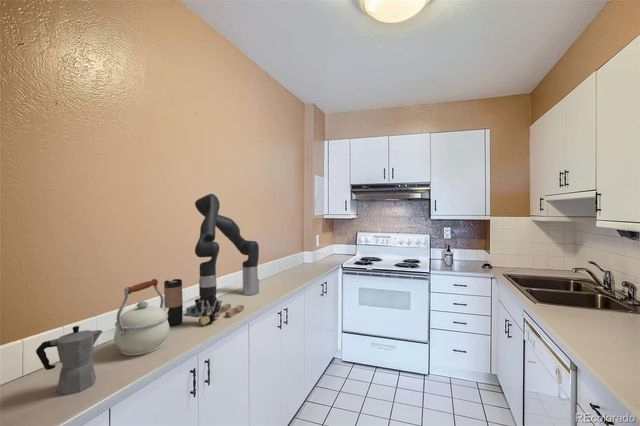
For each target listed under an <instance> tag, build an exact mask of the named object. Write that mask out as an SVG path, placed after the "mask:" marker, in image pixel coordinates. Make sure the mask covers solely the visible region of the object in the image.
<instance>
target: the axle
mask: <svg viewBox="0 0 640 426" xmlns="http://www.w3.org/2000/svg"><path fill="white" fill-rule="evenodd" d="M219 317H220V314H219V313H218V312H217V313H215V320H216V319H219ZM208 323H209V324H210V313H207V315H205V316H203V317H202V316H201V317H199V319H198V324H199V325H200V326H201V327H203V326H206V325H207V324H208Z"/></svg>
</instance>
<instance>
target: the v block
mask: <svg viewBox="0 0 640 426" xmlns="http://www.w3.org/2000/svg"><path fill="white" fill-rule="evenodd" d="M211 307H212V306H211ZM200 309H201V308H200ZM185 310H186V311H185V312H186V316H190V317H191V316H192V317H198V318H201V317H202V313H201V312H198V309H197V306H196V303H195V304H193V305H190V306H188V307H186V308H185ZM212 311H213V310H212ZM207 314H210V311H209V310H208V308H207Z"/></svg>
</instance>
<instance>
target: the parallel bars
mask: <svg viewBox="0 0 640 426" xmlns="http://www.w3.org/2000/svg"><path fill="white" fill-rule="evenodd" d="M231 307H232V306H231V303H225V304H222V305H221V306H220V309H219V312H218V313H219V315H221V314H223V313H225V314H224V317H225V318H227V319H228V318H229V319H230V318H233V317H234V316H235V315H238V314H239V313H241V312H243V311H244V309H245V307H244V304H243V305H241V304H240V305H237V306H235V307H233V308H232V309H231Z"/></svg>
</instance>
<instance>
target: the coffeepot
mask: <svg viewBox="0 0 640 426" xmlns="http://www.w3.org/2000/svg"><path fill="white" fill-rule="evenodd" d="M79 330H80V325H75V326H73V327H72V332H70V333H67V334H64V335H60V337H58V338H54V339H50V340H46V341H42V343H41V344H40V345H39V346H38V347H37V348H36V350H35V353H36V355H37V357H38V359H39V360H40V362H41V364H42V366H43V367H44V369H45V370H46V371H50V370H53V369H55V368H56V365H57V364H52V365H51V364H50V360H49V358H48V356H47V352H46V350H45V349H48V348H55V347H56V349H57V353H58V359H59V363H61V364H62V366H61V369H60V372H59V377H58V384H57V389H56V393H58V394H60V395H73V394H77V393H80V392H82V391H85V390H87V389H89V388H91V387H92V386H93V385H94V384H95V382H96V380H97V377H96V373H95V368H94V364H93V360H92V359H91V358H92V357H91V356H92V355H93V351H94V346H95V343H96V342H97V340H98V338H99V337H100V335H102V333H104V332H103V330H101V329H100V330H99V329H95V330H90V329H89V330H88V329H86V330H80V331H79Z"/></svg>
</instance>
